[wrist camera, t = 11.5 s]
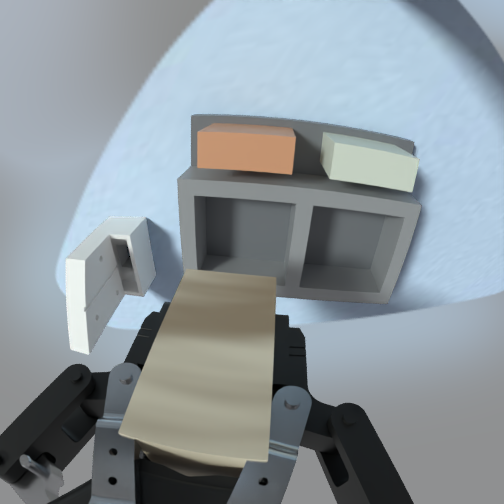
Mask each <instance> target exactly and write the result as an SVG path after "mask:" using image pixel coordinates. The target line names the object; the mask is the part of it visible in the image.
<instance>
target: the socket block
mask: <svg viewBox="0 0 504 504" xmlns="http://www.w3.org/2000/svg"><path fill="white" fill-rule="evenodd" d="M413 147H414V142H413V141H411V140H408V139H404V138H400V137H396V136H391V135H387V134H382V133H378V132H373V131H368V130H363V129H357V128H352V127H346V126H340V125H334V124H327V123H320V122H313V121H304V120H296V119H286V118H275V117H262V116H246V115H218V114H195V115H192V116H191V167H190V168H189V169H187V170H186V171H185V172H184V173H183V174H182V175H181V176H180V177H179V178H178V179H177V182H178V203H179V220H180V235H181V248H182V260H183V271H184V273H185V271H186V269H195V270H205V271H214V272H225V273H235V274H245V275H256V276H267V277H276V297H285V298H298V299H311V300H325V301H340V302H357V303H376V304H388V301H389V299H390V296H391V294H392V291H393V289H394V286H395V284H396V281H397V279H398V276H399V274H400V271H401V268H402V265H403V263H404V260H405V257H406V254H407V251H408V248H409V246H410V243H411V239H412V236H413V233H414V230H415V227H416V224H417V220H418V217H419V214H420V210H421V207H422V205H421V204H420V203H419V202H418V201H417V200H416V199H415V198H414V197H413V196H412V195H410V194H409V193H408V192H412V191H413V187H414V183H415V178H416V174H417V170H418V165H419V160H420V159H418V158H417V157H415V156H413V155H412V153H413Z"/></svg>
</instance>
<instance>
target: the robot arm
mask: <svg viewBox="0 0 504 504" xmlns="http://www.w3.org/2000/svg"><path fill="white" fill-rule="evenodd" d="M170 304H171V303H170V302H165V303H164V304H163V306H162V308H161V310H160V313H159V312H152V313H151V314H150V315H149V316H147V317H146V318H145V320H144V322H143V324H142V326H141V329H140V330H139V332H138V334H137V336H136V338H135V340H134V343H133V344H132V347H131V349H130V351H129V353H128V355H127V357H126V359H125V361H124V363H121V364H119V365H117V366H115V367H114V368H113V369H112V370H111V371H110V372H98V373H97V372H95V373H91V372H90V370H89V368H88V367H86V366H85V365H82V364H75V365H71V366H70V367H68V368H67V369H66V370H65V371H64V372H62V373H61V374H60V375H59V376H58V377H57V378H56V379H55V380H54V381H53V382H52V383H51V384H50V385H49V386H48V387H47V388H46V389H45V390H44V391H43V392H42V393H41V394H40V395H39V396H38V397H37V398H36V399H35V400H34V401H33V402H32V403H31V404H30V405H29V406H28V407H27V408H26V409H25V410H24V411H23V412H22V413H21V415H19V416H18V417H17V418H16V420H15V421H14V422H13V423H12V424H11V425H10V426H9V427H8V428H7V429H6V430H5V431H4V432H3V433H2V434H1V435H0V478H1V479H3V480H4V481H5V482H7V483H9V484H10V485H11V486H12V488H13V489H14V490H15V492H16V493H17V494H18V495H19V497H20V498H21V499H22V500H23V501H24V502H25V503H26V504H281V502H282V499H283V496H284V494H285V491H286V489H287V486H288V483H289V480H290V477H291V474H292V472H293V469H294V466H295V463H296V459H297V456H298V449H299V445H300V446H303V447H306V448H310V449H313V450H315V452H316V455H317V457H318V459H319V462H320V464H321V466H322V469H323V471H324V473H325V476H326V478H327V480H328V483H329V485H330V487H331V490H332V492H333V494H334V496H335V499H336V501H337V504H414V503H413V501H412V499H411V497H410V495H409V493H408V492H407V490H406V488H405V486H404V484H403V482H402V480H401V478H400V476H399V474H398V472H397V470H396V468H395V467H394V465H393V463H392V461H391V459H390V457H389V455H388V453H387V452H386V450H385V448H384V446H383V444H382V442H381V440H380V439H379V437H378V435H377V433H376V431H375V429H374V427H373V426H372V424H371V422H370V420H369V418H368V416H367V415H366V413H365V411H364V410H363V409H362V408H361V407H360V406H358V405H356V404H353V403H343V404H340V405H338V406H337V407H334V406H331V405H327V404H324V403H321V402H319V401H317V400H316V399H315V398H313V396H312V395H311V394H310V392H309V390H308V385H307V366H306V365H307V364H306V350H305V337H304V335H303V333H302V332H301V330H300V328H290V327H289V316H288V315H277V314H275V336H274V361H273V382H272V402H271V420H270V436H269V451H268V461H253V460H247V461H246V463H245V466H244V468H243V470H242V472H241V474H240V477H230V476H222V475H210V476H186V475H183V474H181V473H179V472H177V471H175V470H173V469H171V468H169V467H167V466H165V465H163V464H159V463H155V462H152V461H151V460H150V459H149V458H148V457H147V456H146V454H145V453H144V452H143V451H142V448H141V446H140V445H139V444H138V443H137V441H136V440H135V439H134V438H131V437H127V436H124V435H121V434H119V433H118V432H119V429H120V426H121V424H122V421H123V418H124V416H125V413H126V410H127V408H128V405H129V402H130V400H131V397H132V395H133V392H134V389H135V387H136V384H137V382H138V379H139V377H140V374H141V372H142V369H143V367H144V364H145V362H146V360H147V357H148V355H149V352H150V350H151V348H152V345H153V343H154V340H155V338H156V336H157V333H158V331H159V329H160V326H161V324H162V322H163V320H164V317H165V315H166V313H167V311H168V308H169V306H170ZM94 434H95V440H94V451H93V466H92V479H90V480H89V481H87V482H85V483H84V484H82V485H80V486H78V487H77V488H75V489H73V490H71V491H70V492H68V493H66V494H64V495H62V496H60V497H58V492H59V489H60V487H62V486H63V485H64V480H63V475H62V471H63V470H64V469H65V467H66V466H67V465H68V464H69V463H70V462H71V461H72V459H73V458H74V457H75V456H76V455H77V454H78V453H79V451H80V450H81V449H82V448H83V447H84V446H85V444H86V443H87V442H88V441H89V440H90V439H91V438H92V437H93V435H94Z"/></svg>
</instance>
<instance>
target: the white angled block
mask: <svg viewBox="0 0 504 504" xmlns="http://www.w3.org/2000/svg"><path fill="white" fill-rule="evenodd" d="M126 245H128V249H129V253H130V258H129V256H128V251H127V247H126ZM155 276H156V271H155V266H154V260H153V255H152V249H151V244H150V238H149V232H148V226H147V219H146V217H123V216H109V217H108V218H107V219H106V220H105V221H104V222H103V223H101V224H100V225H99V226H98V227H97V228H96V229H95V230H94V231H93V232H92V233H91V234H90V235H89V236H88V237H87V238H86V239H85V240H84V241H83V242H82V243H81V244H80V245H79V246H78V247H77V248H76V249H75V250H74V251H73V252H72V253H71V254H70V255H69V256H68V257H67V258H66V301H67V302H66V303H67V319H68V330H69V340H70V349H71V350H74V351H78V352H81V353H85V354H88V355H90V353H91V351H92V349H93V348H94V346H95V344H96V342H97V341H98V339H99V337H100V335H101V334H102V332H103V330H104V328H105V327H106V325H107V323H108V322H109V320H110V318H111V317H112V315H113V313H114V312H115V310H116V308H117V307H118V305H119V303H120V302H121V300H122V299H123V297H124V295H125V294H127V295H134V296H142V297H144V296H145V294H146V292H147V290H148V289H149V287H150V285H151V283H152V281H153V280H154V278H155Z"/></svg>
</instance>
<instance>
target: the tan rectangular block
mask: <svg viewBox="0 0 504 504" xmlns="http://www.w3.org/2000/svg"><path fill="white" fill-rule="evenodd" d="M275 307H276V277H267V276H256V275H245V274H235V273H225V272H214V271H205V270H195V269H186V271H185V273H184V275H183V277H182V280H181V282H180V284H179V286H178V288H177V290H176V293H175V295H174V297H173V299H172V302H171V304H170V306H169V308H168V311H167V313H166V315H165V317H164V320H163V322H162V324H161V326H160V329H159V331H158V333H157V336H156V338H155V340H154V343H153V345H152V348H151V350H150V352H149V355H148V357H147V360H146V362H145V364H144V367H143V369H142V372H141V374H140V377H139V379H138V382H137V384H136V387H135V389H134V392H133V395H132V397H131V400H130V402H129V405H128V408H127V410H126V413H125V416H124V418H123V421H122V424H121V426H120V429H119V432H118V433H119V434H121V435H124V436H127V437H131V438H134V439H135V440H136V441H137V443H138V444H139V445H140V446H141V448H142V451H143V452H144V453H145V454H146V456H147V457H148V458H149V459H150V460H151V461H152V462H155V463H159V464H163V465H165V466H167V467H169V468H171V469H173V470H175V471H177V472H179V473H181V474H183V475H186V476H210V475H222V476H230V477H240V474H241V472H242V470H243V468H244V466H245V463H246V461H247V460H253V461H268V451H269V436H270V420H271V402H272V382H273V361H274V336H275Z"/></svg>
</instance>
